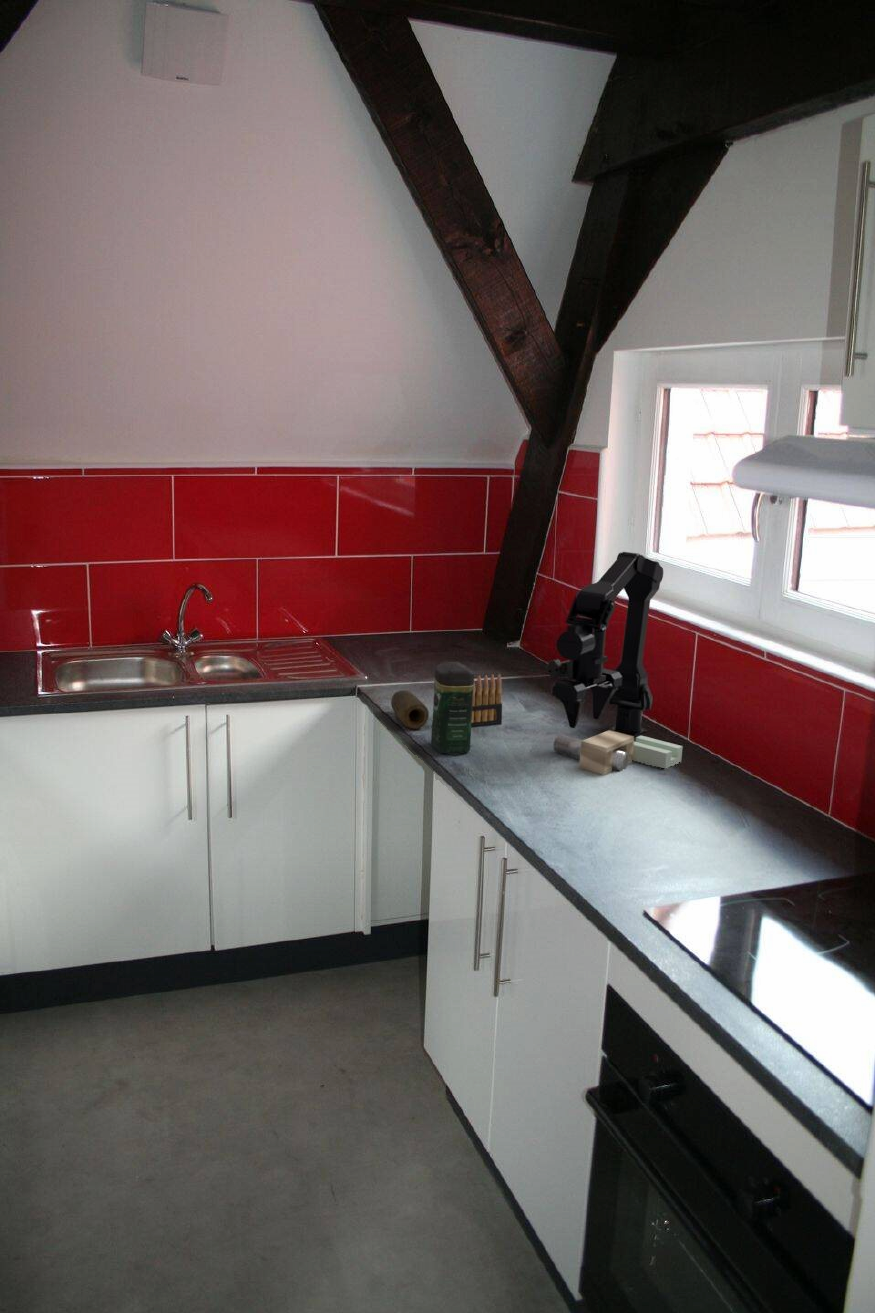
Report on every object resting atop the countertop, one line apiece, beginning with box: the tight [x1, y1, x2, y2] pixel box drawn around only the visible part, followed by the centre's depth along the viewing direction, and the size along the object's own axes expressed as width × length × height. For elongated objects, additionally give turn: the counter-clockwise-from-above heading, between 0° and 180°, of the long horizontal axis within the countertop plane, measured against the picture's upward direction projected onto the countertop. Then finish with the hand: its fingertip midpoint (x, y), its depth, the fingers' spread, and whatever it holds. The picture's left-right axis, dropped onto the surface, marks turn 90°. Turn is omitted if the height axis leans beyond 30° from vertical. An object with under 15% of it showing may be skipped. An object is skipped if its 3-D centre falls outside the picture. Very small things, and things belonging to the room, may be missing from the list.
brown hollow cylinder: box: [390, 690, 430, 730], centre depth 252 cm, size 15×7×7 cm, turn 19°
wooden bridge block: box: [578, 729, 635, 776], centre depth 228 cm, size 11×6×6 cm, turn 140°
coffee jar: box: [430, 661, 475, 755], centre depth 233 cm, size 10×8×19 cm
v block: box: [632, 735, 684, 769], centre depth 233 cm, size 7×10×4 cm
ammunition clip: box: [471, 673, 503, 729], centre depth 251 cm, size 11×2×12 cm, turn 117°
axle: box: [552, 734, 629, 772], centre depth 231 cm, size 16×4×4 cm, turn 50°
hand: (584, 723), depth 231 cm, fingers open, 9 cm apart
